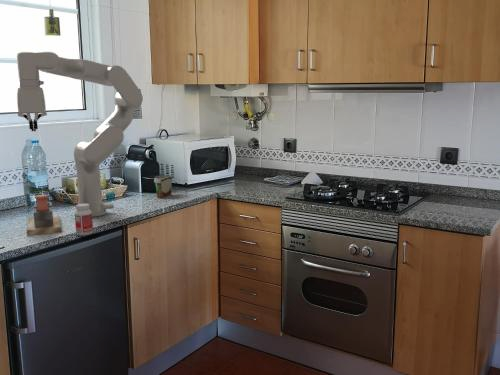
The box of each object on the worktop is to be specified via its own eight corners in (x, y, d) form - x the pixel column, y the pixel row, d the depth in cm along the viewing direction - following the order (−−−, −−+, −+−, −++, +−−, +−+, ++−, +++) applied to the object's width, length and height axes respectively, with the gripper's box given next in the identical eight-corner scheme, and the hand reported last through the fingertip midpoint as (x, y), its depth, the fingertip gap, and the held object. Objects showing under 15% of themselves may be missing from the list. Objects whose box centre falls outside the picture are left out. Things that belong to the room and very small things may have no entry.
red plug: (49, 216, 207) (47, 194, 206) (49, 219, 203) (47, 196, 201) (37, 217, 206) (35, 195, 204) (37, 220, 202) (35, 197, 200)
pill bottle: (95, 231, 202) (93, 202, 200) (90, 235, 196) (88, 206, 194) (79, 231, 203) (77, 203, 201) (73, 236, 197) (71, 206, 195)
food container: (162, 193, 274) (161, 174, 272) (172, 194, 272) (172, 175, 270) (150, 198, 262) (149, 178, 261) (161, 199, 260) (160, 179, 259)
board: (59, 219, 222) (58, 200, 221) (61, 232, 202) (59, 211, 201) (28, 222, 218) (27, 203, 217) (27, 235, 198) (25, 214, 197)
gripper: (49, 84, 215) (53, 129, 218) (9, 84, 210) (13, 131, 213) (50, 83, 208) (54, 131, 212) (8, 84, 203) (12, 132, 206)
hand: (33, 131), depth 212 cm, fingers closed
